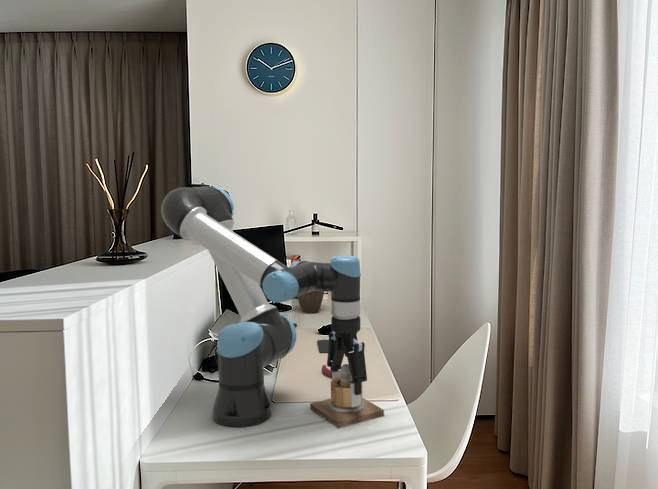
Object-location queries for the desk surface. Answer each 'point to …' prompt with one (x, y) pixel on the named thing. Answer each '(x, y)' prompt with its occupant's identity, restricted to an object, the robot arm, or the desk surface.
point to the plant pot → (311, 301)
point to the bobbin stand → (346, 414)
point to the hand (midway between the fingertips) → (346, 400)
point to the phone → (323, 346)
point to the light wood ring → (341, 394)
